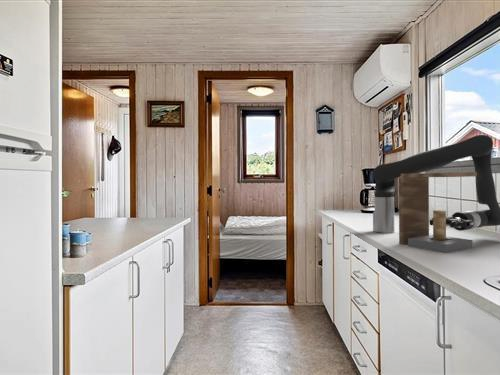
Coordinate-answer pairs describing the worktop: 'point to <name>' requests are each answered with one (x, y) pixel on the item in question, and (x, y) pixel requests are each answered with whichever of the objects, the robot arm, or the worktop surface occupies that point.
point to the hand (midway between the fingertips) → (440, 223)
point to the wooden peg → (439, 225)
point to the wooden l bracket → (417, 203)
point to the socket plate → (440, 243)
